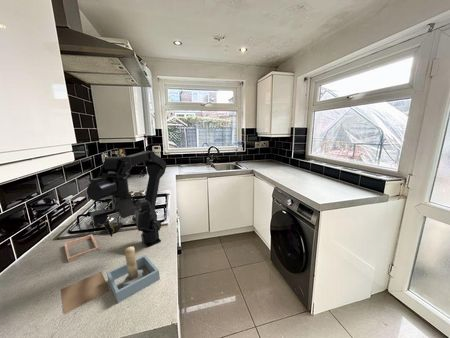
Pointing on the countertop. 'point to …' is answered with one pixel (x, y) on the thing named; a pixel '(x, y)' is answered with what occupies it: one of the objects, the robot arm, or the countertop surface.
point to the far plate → (83, 291)
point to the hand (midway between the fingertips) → (125, 231)
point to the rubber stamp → (132, 267)
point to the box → (134, 286)
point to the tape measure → (115, 227)
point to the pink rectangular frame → (77, 242)
